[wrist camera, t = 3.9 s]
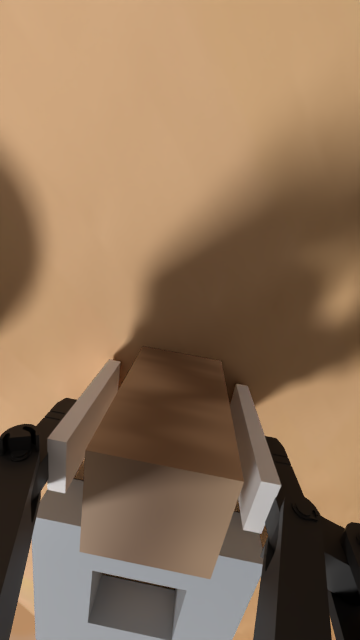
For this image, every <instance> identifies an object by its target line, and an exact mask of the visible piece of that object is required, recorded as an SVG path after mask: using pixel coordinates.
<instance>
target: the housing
mask: <svg viewBox="0 0 360 640" xmlns="http://www.w3.org/2000/svg"><path fill="white" fill-rule="evenodd" d="M82 499H83V481H81V480H76V479H73V480H72V482H71V484H70V486H69V487H68V489H67V491H66V493H61V492H56V491H51V490H47V491H46V493H45V494H44V496H43V498H42V499H41V501H40V503H39V508H38V512H37V517H36V521H35V526H34V530H33V535H32V556H33V581H34V607H35V632H36V640H232V639H233V637H234V634H235V632H236V630H237V628H238V626H239V623H240V621H241V619H242V617H243V615H244V612H245V610H246V608H247V606H248V603H249V601H250V599H251V597H252V595H253V592H254V590H255V588H256V586H257V584H258V581H259V579H260V577H261V574H262V566H263V559H262V558H261V557H260V555H261V552H262V550H263V549H262V544H261V539H260V535H259V533H255V532H251V531H246V530H243V527H242V520H241V513H238V512H233V515H232V518H231V521H230V524H229V527H228V530H227V533H226V536H225V538H224V541H223V544H222V547H221V550H220V553H219V556H218V559H217V562H216V565H215V567H214V570H213V573H212V576H211V579H206V578H201V577H197V576H192V575H187V574H182V573H177V572H173V571H168V570H163V569H158V568H154V567H149V566H144V565H139V564H135V563H130V562H125V561H120V560H116V559H111V558H106V557H101V556H96V555H92V554H87V553H82V552H79V551H80V534H81V516H82ZM263 558H264V557H263ZM102 573H106V574H110V575H115V576H120V577H124V578H129V579H134V580H139V581H143V582H148V583H153V584H157V585H162V586H167V587H172V588H176V589H175V590H172V589H167V588H162V587H157V586H153V585H148V584H143V583H139V582H134V581H129V580H124V579H120V578H115V577H110V576H106V575H102Z"/></svg>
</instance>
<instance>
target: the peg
mask: <svg viewBox="0 0 360 640" xmlns="http://www.w3.org/2000/svg"><path fill="white" fill-rule="evenodd" d="M243 483H244V479H243V474H242V468H241V463H240V458H239V452H238V447H237V442H236V436H235V431H234V426H233V420H232V415H231V409H230V404H229V399H228V393H227V388H226V383H225V377H224V372H223V367H222V361H219V360H214V359H208V358H203V357H198V356H193V355H187V354H182V353H177V352H171V351H166V350H161V349H156V348H150V347H145V346H143V347H142V349H141V351H140V352H139V354H138V356H137V358H136V360H135V361H134V363H133V365H132V367H131V369H130V370H129V372H128V374H127V376H126V378H125V379H124V381H123V383H122V385H121V387H120V388H119V390H118V392H117V394H116V396H115V397H114V399H113V401H112V403H111V405H110V406H109V408H108V410H107V412H106V414H105V415H104V417H103V419H102V421H101V423H100V424H99V426H98V428H97V430H96V432H95V433H94V435H93V437H92V439H91V441H90V442H89V444H88V446H87V448H86V450H85V464H84V481H83V499H82V516H81V534H80V551H79V552H82V553H87V554H92V555H96V556H101V557H106V558H111V559H116V560H120V561H125V562H130V563H135V564H139V565H144V566H149V567H154V568H158V569H163V570H168V571H173V572H177V573H182V574H187V575H192V576H197V577H201V578H206V579H211V576H212V573H213V570H214V567H215V565H216V562H217V559H218V556H219V553H220V550H221V547H222V544H223V541H224V538H225V536H226V533H227V530H228V527H229V524H230V521H231V518H232V515H233V512H234V509H235V507H236V504H237V501H238V498H239V495H240V492H241V489H242V486H243Z"/></svg>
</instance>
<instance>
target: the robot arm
mask: <svg viewBox="0 0 360 640" xmlns="http://www.w3.org/2000/svg"><path fill="white" fill-rule="evenodd" d="M120 364H121V362H120V361H115V360H110V359H109V360H108V362H107V363H106V364H105V365H104V367H103V368H102V369H101V371H100V372H99V373H98V374H97V376H96V377H95V378H94V379H93V381H92V382H91V383H90V385H89V386H88V387H87V388H86V390H85V391H84V392H83V393H82V395H81V396H80V397H79V399H78V400H75V399H70V398H65V399H63V400H62V401H60V402H58V403H57V404H56V405H55V406H54V407H53V408H52V409H51V410H50V412H48V414H47V415H46V416H45V418H43V419H42V420H41V421H40V423H39V424H38V425H37V426H34V425H32V424H22V425H17V426H14V427H12V428H10V429H8V430H7V431H5V432H4V433H3V434H2V435H1V436H0V640H9V637H10V633H11V629H12V624H13V619H14V615H15V610H16V606H17V602H18V597H19V593H20V588H21V584H22V579H23V575H24V570H25V566H26V561H27V557H28V553H29V548H30V544H31V539H32V535H33V530H34V526H35V521H36V517H37V512H38V508H39V503H40V499H41V490H42V488H43V487H44V485H45V484H46V482H47V480H48V490H51V491H56V492H61V493H66V491H67V489H68V487H69V486H70V484H71V482H72V480H73V478H74V476H75V474H76V473H77V471H78V469H79V467H80V465H81V463H82V461H83V460H84V458H85V450H86V448H87V446H88V444H89V442H90V441H91V439H92V437H93V435H94V433H95V432H96V430H97V428H98V426H99V424H100V423H101V421H102V419H103V417H104V415H105V414H106V412H107V410H108V408H109V406H110V405H111V403H112V401H113V399H114V397H115V396H116V394H117V392H118V384H119V374H120ZM230 409H231V415H232V420H233V426H234V431H235V436H236V442H237V447H238V452H239V458H240V463H241V468H242V474H243V479H244V483H243V486H242V489H241V492H240V495H239V498H238V500H239V507H240V513H241V520H242V527H243V530H246V531H251V532H255V533H260V534H261V533H262V531H263V529H264V526H265V525H266V529H267V533H268V538H267V540H266V543H265V545H264V547H263V550H262V552H261V555H260V557H261V558H262V559H263V566H262V574H261V582H260V590H259V598H258V606H257V614H256V622H255V630H254V638H253V640H332V638H331V626H330V618H331V622H332V626H333V630H334V633H335V637H336V640H360V524H359V523H354V522H351V523H349V524H347V526H346V528H343V527H341V526H339V525H337V524H335V523H333V522H331V521H329V520H327V519H325V518H324V517H322V516H321V515H320V513H319V512H318V510H317V509H316V507H315V506H314V505H313V504H312V503H311V502H310V501H309V500H308V499H307V498H305V497H304V495H303V493H302V490H301V488H300V485H299V483H298V481H297V478H296V476H295V473H294V471H293V468H292V466H291V464H290V461H289V459H288V456H287V454H286V451H285V449H284V447H283V446H282V444H281V443H280V442H279V441H278V440H277V438H272V437H267V436H265V435H264V432H263V429H262V426H261V423H260V420H259V417H258V414H257V412H256V409H255V406H254V403H253V400H252V397H251V394H250V391H249V388H248V386H246V385H240V384H236V386H235V389H234V393H233V396H232V400H231V403H230ZM263 557H264V558H263Z"/></svg>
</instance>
